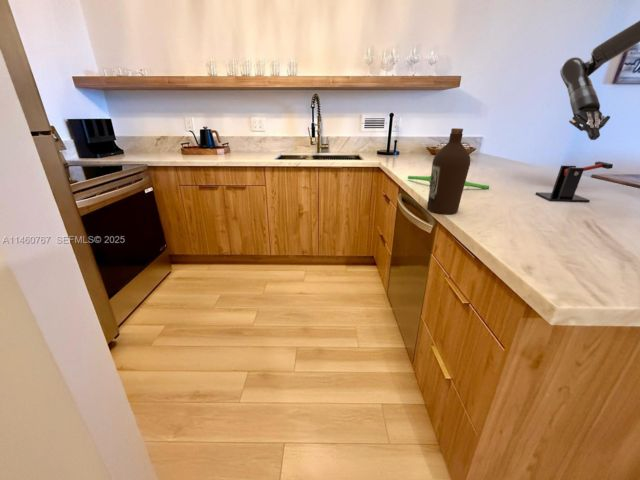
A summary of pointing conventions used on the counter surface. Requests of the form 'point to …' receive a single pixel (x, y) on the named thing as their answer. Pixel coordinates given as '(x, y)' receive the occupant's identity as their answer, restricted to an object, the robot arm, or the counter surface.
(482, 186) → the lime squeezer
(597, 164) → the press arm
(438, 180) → the olive oil
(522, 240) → the counter surface
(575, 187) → the bracket
